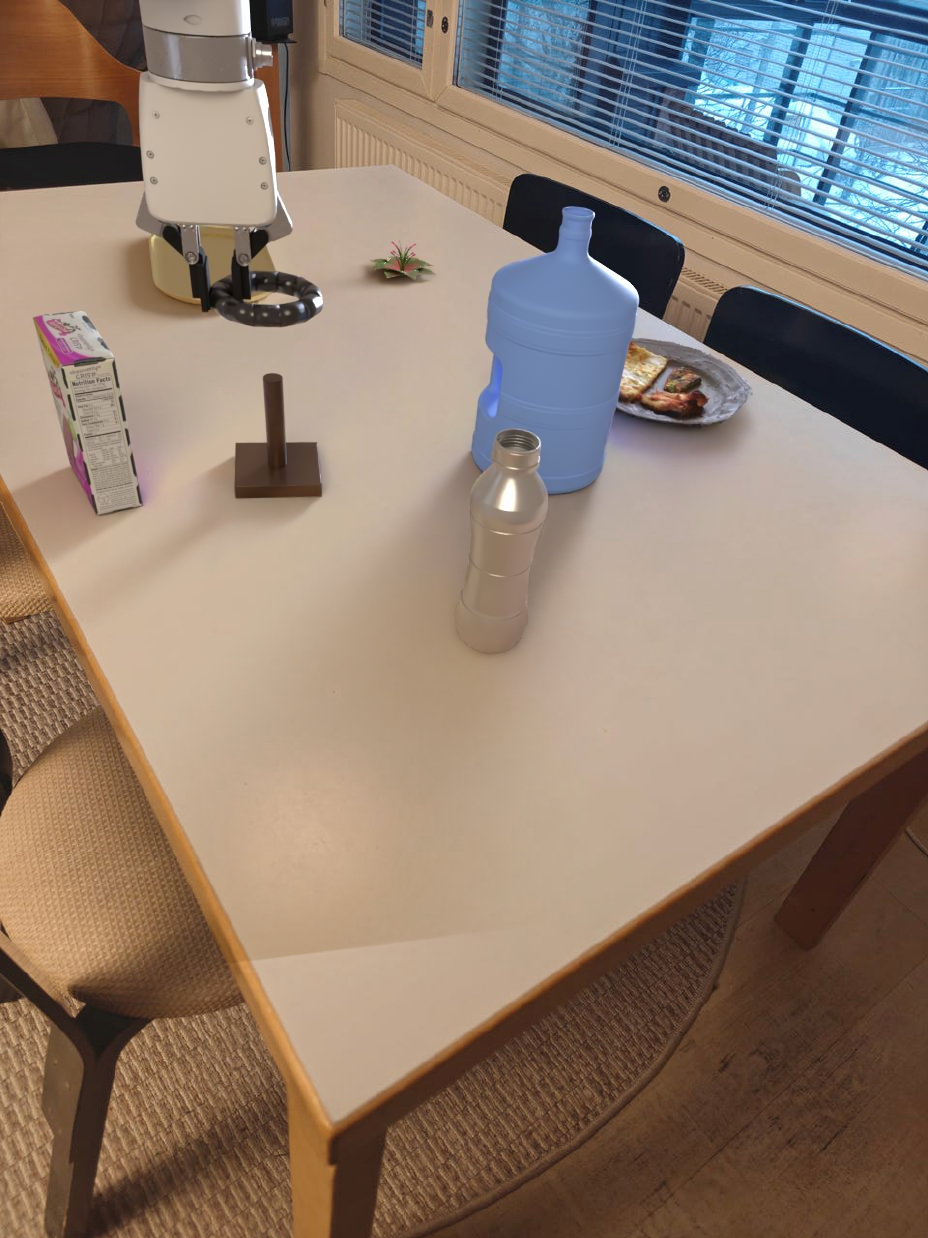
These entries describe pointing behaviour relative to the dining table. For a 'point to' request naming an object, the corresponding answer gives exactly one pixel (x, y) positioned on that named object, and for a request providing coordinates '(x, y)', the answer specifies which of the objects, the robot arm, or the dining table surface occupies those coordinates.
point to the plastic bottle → (502, 543)
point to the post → (276, 456)
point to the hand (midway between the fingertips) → (223, 304)
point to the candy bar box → (89, 410)
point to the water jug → (557, 356)
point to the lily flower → (402, 265)
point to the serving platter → (219, 248)
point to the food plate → (678, 385)
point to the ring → (264, 313)
